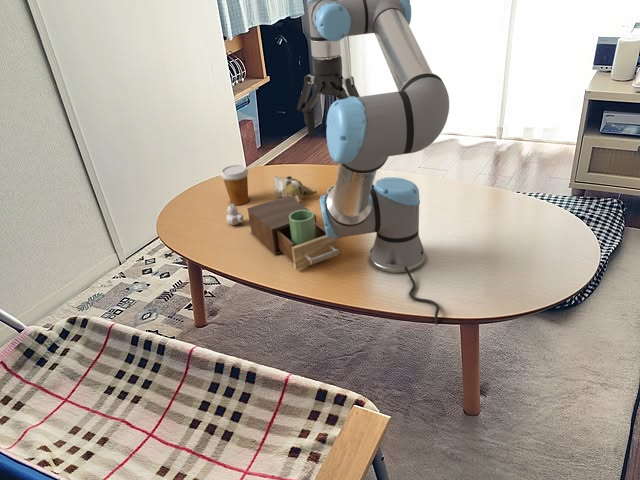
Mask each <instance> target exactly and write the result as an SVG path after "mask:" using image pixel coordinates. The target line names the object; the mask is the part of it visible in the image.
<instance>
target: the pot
mask: <svg viewBox="0 0 640 480" xmlns="http://www.w3.org/2000/svg"><path fill="white" fill-rule="evenodd" d="M309 210H310V209H309ZM309 210H298V211H295V212H292V213H291V214H290V215H289V223H290V230H291V238H292V243H294V246H296V245H299V244H302V243H305V242H307V241H310V240H313V239H316V238H317V237H316V228H315V218H314V214H315V213H314V212H313V211H312V210H310V211H309Z"/></svg>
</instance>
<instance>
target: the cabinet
mask: <svg viewBox="0 0 640 480" xmlns="http://www.w3.org/2000/svg"><path fill="white" fill-rule="evenodd" d="M246 210H247V213H248V215H247V216H248V220H249V224H250V231H251V234H252V235H253V236H254V237H255V238H256V239H257V240H258V241H259V242H261V244H262V245H264V246H265V247H266V248H267V249H268V250H269V251H270V252H271V253H272V254H273V255H274V256H278V255H281V254H283V253H282V252H281V251H279V250H278V249H277V244H276V237H275V231H276V230H279V229H282V228H285V227H288V226H290V223H289V215H290V214H291V213H292V212H295V211H298V210H309V211H311V210H310V209H309V208H307V207H306V206H304V205H303V204H302V203H299V202H298V201H296V200H295V199H293V198H292V197H291V196H289V195H288V196H285V197H281V198H276V199H272V200H270V201H267V202H263V203H260V204H256V205H253V206H250V207H247V209H246ZM314 218H315V222H316V223H317V215H316V213H314Z"/></svg>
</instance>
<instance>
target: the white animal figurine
mask: <svg viewBox="0 0 640 480" xmlns="http://www.w3.org/2000/svg"><path fill="white" fill-rule="evenodd" d="M226 212H227V214H226V216H225V217H226V218H225V219H226V223H227V224H228V225H231V226H237V225H239V224H241V223H243V222H244V215H243V214H242V213H241V212H239V211H238V207H237V205H234V204H231V202H229V205H228V206H227V209H226Z"/></svg>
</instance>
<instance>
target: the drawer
mask: <svg viewBox="0 0 640 480" xmlns="http://www.w3.org/2000/svg"><path fill="white" fill-rule="evenodd" d="M315 228H316V237H317V238H316V239H313V240H310V241H307V242H305V243H302V244H299V245H296V246H294V243H292V238H291V230H290V226H288V227H285V228H282V229H279V230H276V231H275V237H276V244H277V249H278V250H279V251H281V252H282V253H281V254H283V255H284V256H285V258H287V259H288V260H289V261H291V263H292V264H293V267H294V269H295V271H296V270H300V269H302V268H305V267H308V266H311V265H314V264H317V263H320V262H322V261H325V260H327V259H331V258H334V257H336V256H339V255H341V250H340V249H339V248H338V247H337V246H338V245H337V238H328V237H327V235H326V231H325V227H323V226H321V225H319V224H318V223H317V221H316V222H315Z"/></svg>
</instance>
